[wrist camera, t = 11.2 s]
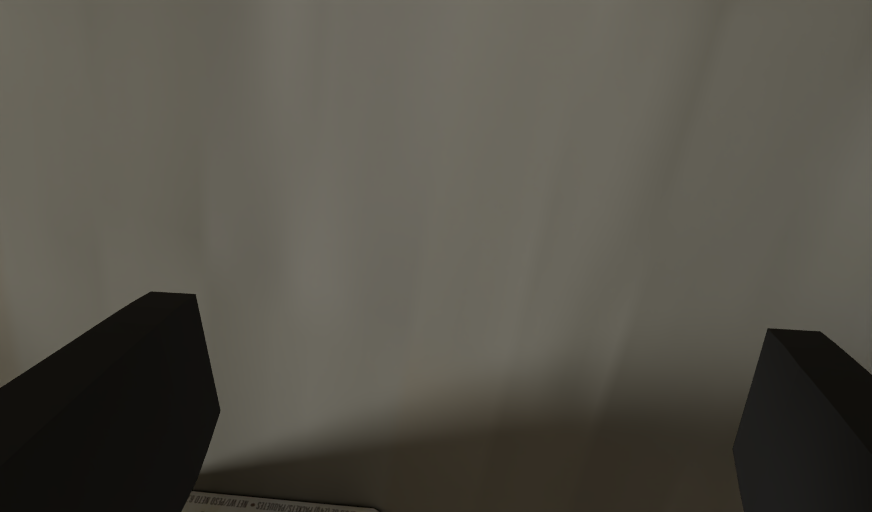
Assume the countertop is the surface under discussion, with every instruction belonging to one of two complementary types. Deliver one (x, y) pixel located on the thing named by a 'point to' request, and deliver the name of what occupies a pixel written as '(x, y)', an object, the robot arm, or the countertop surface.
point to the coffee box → (257, 504)
